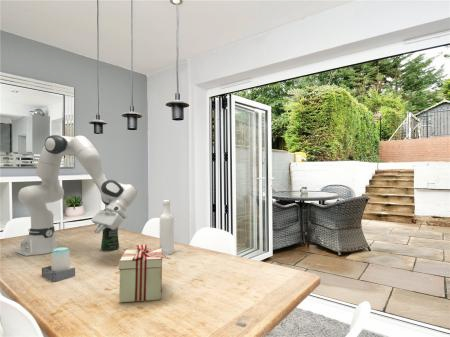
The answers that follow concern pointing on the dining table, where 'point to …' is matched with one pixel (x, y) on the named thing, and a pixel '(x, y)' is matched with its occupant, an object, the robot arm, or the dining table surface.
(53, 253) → the can
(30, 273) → the dining table surface
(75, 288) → the dining table surface
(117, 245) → the coffee jar
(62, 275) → the grey u-shaped bracket
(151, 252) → the gift box
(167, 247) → the bottle
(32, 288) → the dining table surface
